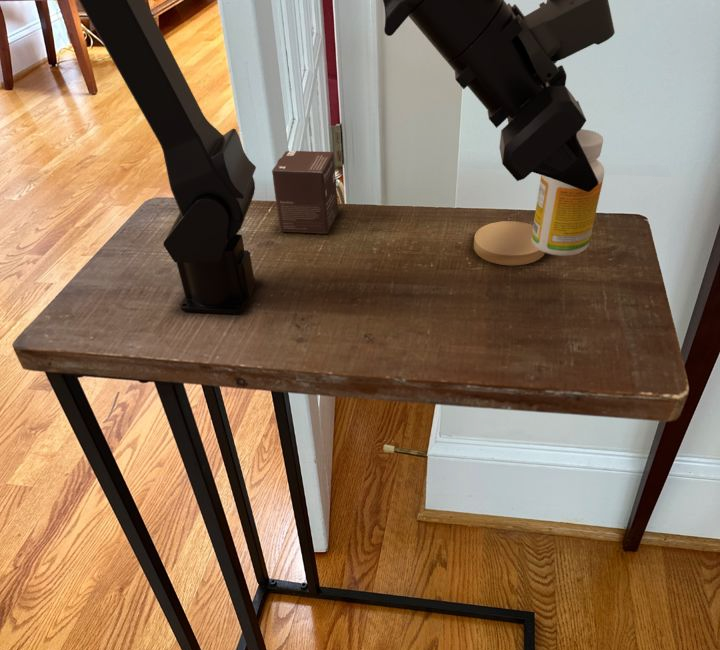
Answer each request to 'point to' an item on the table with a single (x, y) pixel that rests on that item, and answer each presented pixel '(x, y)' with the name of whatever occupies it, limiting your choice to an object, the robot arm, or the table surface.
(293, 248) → the table surface
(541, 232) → the supplement bottle
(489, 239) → the coaster
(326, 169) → the box
